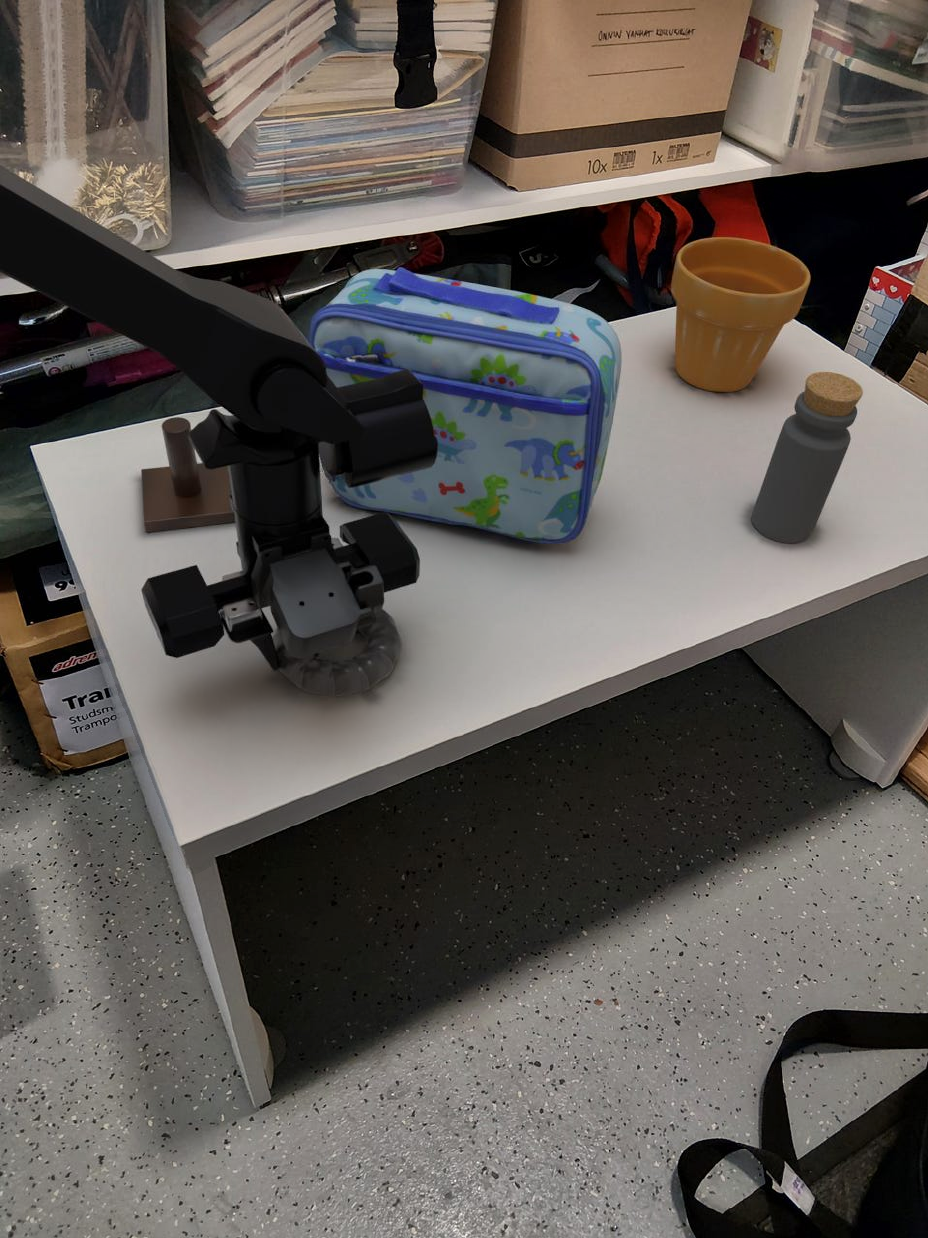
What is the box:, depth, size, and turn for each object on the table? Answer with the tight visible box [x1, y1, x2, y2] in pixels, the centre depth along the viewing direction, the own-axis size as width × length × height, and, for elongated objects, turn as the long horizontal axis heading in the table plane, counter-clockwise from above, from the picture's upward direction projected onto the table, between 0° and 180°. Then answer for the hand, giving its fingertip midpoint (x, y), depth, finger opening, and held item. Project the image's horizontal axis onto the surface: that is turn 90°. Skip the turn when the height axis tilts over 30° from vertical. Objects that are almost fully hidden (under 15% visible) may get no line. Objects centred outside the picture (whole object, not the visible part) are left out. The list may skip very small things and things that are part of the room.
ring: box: [272, 608, 403, 697], centre depth 73 cm, size 10×10×3 cm
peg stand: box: [140, 416, 235, 533], centre depth 84 cm, size 8×8×8 cm
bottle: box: [751, 371, 864, 544], centre depth 84 cm, size 6×6×15 cm
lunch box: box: [308, 266, 623, 545], centre depth 81 cm, size 26×11×21 cm, turn 72°
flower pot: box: [670, 236, 811, 393], centre depth 104 cm, size 14×14×13 cm
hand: (293, 660), depth 72 cm, fingers closed on ring, 3 cm apart
